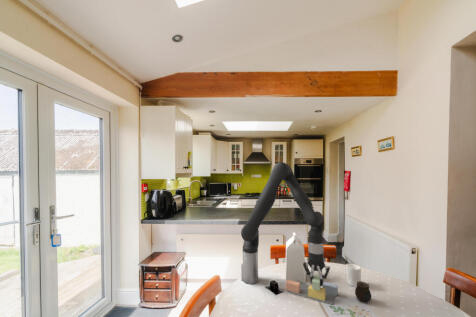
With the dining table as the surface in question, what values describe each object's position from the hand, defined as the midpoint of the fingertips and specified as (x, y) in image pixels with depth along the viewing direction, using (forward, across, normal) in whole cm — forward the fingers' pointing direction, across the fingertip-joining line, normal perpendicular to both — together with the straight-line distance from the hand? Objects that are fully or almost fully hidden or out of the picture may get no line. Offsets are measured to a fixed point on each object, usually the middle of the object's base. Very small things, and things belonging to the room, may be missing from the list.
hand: (316, 284), depth 114 cm
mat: (+6, +3, -3) cm, 8 cm away
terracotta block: (+6, +13, 0) cm, 14 cm away
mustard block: (+6, 0, 0) cm, 6 cm away
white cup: (+7, -16, -24) cm, 30 cm away
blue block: (+6, -5, -7) cm, 11 cm away
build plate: (+7, +22, +4) cm, 24 cm away
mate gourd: (+7, -21, -9) cm, 24 cm away
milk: (+7, +16, -17) cm, 24 cm away
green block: (+1, 0, -1) cm, 1 cm away
